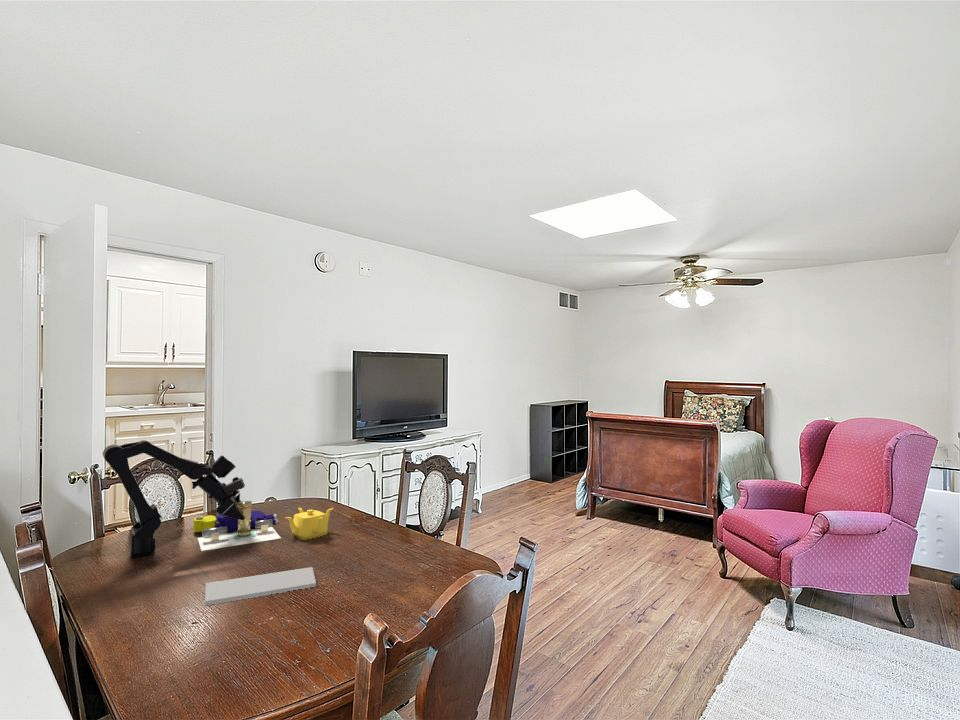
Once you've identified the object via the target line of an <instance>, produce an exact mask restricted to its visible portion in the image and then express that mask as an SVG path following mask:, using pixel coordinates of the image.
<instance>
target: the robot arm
mask: <svg viewBox="0 0 960 720" xmlns="http://www.w3.org/2000/svg"><path fill="white" fill-rule="evenodd" d="M142 454H146V455H147V456H149V457H150V458H151V457H152V458H153V459H156V460H157V461H160V462H163V463H164V464H166V465H168V466H170V467H173V468H175V469H176V470H177V471H179V472H180V473H182V474H183V475H184V476H186V477H187V478H189V479H190V480H194V481H191V483H192V484H191V485H192V486H191V489H192V490H194V489H196V488H197V487H198V488H199V489H200V490H202V491H203V492H204V493H206V494H207V496H208V498H209V499H210V500H211V499H212V500H213V501H214V502H215V503H217V504H216V505H217V507H216V511H215V512H216V513H217V515H223V516H228V517H232V518H236V519H240V520H244V519H245V517H244V516H243V514H242V513H241V512H240V511H239V509H238V508H237V503H238V502H241V501H242V500H241V493H240V492H241V491H240V490H242V489H244V488H245V487H246V484H245V482H244V479H243V478H242V477H240V478H239V477H238V476H235V477H233V478H232V479H231V482H229V483H227V484H226V483H225V482H221V481H220V479H225V478H226V477H227V476H228V475H229V474H230V473H231V472H232V471H233V470H234V469H236V465H235V464H234V463H233V462H232V461H230V460H229V459H228V458H226V457H225V456H224V455H220V456H219V457H218V458H217V459H216V460H215V461H214V462H213V463H212V464H211V465H209V464H201V463H199V462H198V461H194V460H191V459H189V458H188V459H187V458H183V457H180V456H177V455H175V454H173V453H171V452H169V451H167V450H165V449H162V448H161V447H159V446H157V445H155V444H152V443H151V442H149V441H148V440H146V439H145V440H143V439H142V440H140V441H136V442H131V443H125V444H122V445H121V444H120V445H118V444H110V445H108V446H106V447H105V448H104V449H103V451H102V457H103V459H104V460H105V462H107V464H108V465H109V466H110V467H111V469H112V470H113V471H114V472H115V473H116V474H117V476H118V478H119V480H120V482H121V484H122V486H123V487H124V490H125V491H126V493H127V495H128V497H129V499H130V501H131V503H132V505H133V506H134V509H135V513H136V518H137V522H135V524H134V525H132V526H131V528H130V531H131V532H132V534H133V535H131V537H130V538H131V541H130V542H131V544H130V557H131V558H137V557H138V556H139V557H143V556H144V555H145V556H150V555H149V554H152V555H154V552H155V551H156V537H155V536H154V534H155V532H156V530H158V529H159V528H160V526H161V524H162V520H161V519H162V518H163V516H162V515H161V514H160V513H159V509H158V507H157V506H156V504H155V503H153V504H151V505H149V503H148V502H147V499H146V498H145V496H144V494H143V492H142V490H141V488H140V486H139V484H138V482H137V481H136V479H135V477H134V475H133V473H132V471H131V469H130V465H129V464H130V463H129V460H128V459H129V458H133V457H135V456H139V455H142ZM216 477H217V478H218V479H217V478H216ZM130 557H129V558H130Z"/></svg>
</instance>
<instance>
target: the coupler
mask: <svg viewBox="0 0 960 720" xmlns="http://www.w3.org/2000/svg"><path fill="white" fill-rule="evenodd" d="M252 505H253V502H252V501H251V500H241V502H238V503H237V508H238V509H239V511H240V512H241V513H242V514H243V516H244V517H245V519H244V520H240V519H238V528H237V530H236V532H237V533H236V536H238V537H245V536H249V535H251V530H252V528H250V522H251V511H252Z"/></svg>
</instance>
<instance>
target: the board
mask: <svg viewBox="0 0 960 720" xmlns="http://www.w3.org/2000/svg"><path fill="white" fill-rule="evenodd" d="M236 533H237V531H233V532H227V534H222V535H219V541H216V542H211V540H210V536H208V537H202V536H200V537H197V541H198V544H199V547H200V551H201V552H204V551H209V550H216V549H223V548H230V547H235V546H241V545H247V544H255V543H260V542H267V541H272V540H278V539H282V537H281V536H280V535H279V534H278V532H277V531H276V529H274V527H273V526H269V527H268V532H267V533H261V532H260V531H259V528H253V529H251V535H249V536H245V537H238V536H236Z"/></svg>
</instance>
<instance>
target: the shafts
mask: <svg viewBox="0 0 960 720" xmlns="http://www.w3.org/2000/svg"><path fill="white" fill-rule="evenodd" d="M273 526H274V524H273V521H272V519H269V520H261V521H255V528H254V529H259V531H260V532H261V533H267V532H268V527H273ZM227 533H228V532H227V526H226V527H219V528H212V529H205V530H202V531H201V537H208V536H210V540H211V542H216V541H219V535H222V534H227Z"/></svg>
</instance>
